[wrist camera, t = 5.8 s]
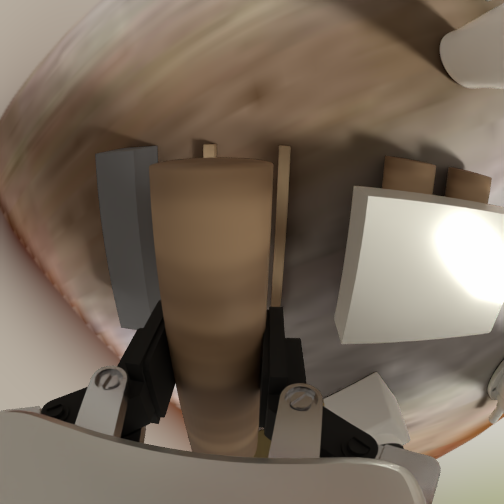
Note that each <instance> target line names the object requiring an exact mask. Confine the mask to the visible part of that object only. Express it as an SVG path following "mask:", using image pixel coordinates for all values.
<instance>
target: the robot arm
mask: <svg viewBox="0 0 504 504" xmlns="http://www.w3.org/2000/svg"><path fill="white" fill-rule="evenodd" d="M174 386H175V378H174V373H173V368H172V363H171V357H170V352H169V347H168V341H167V335H166V329H165V323H164V317H163V310H162V303H161V300H159V301H158V303H157V304H156V306H155V308H154V310H153V311H152V313H151V315H150V317H149V319H148V320H147V322H146V324H145V326H144V328H139V329H138V330H137V331H136V333H135V335H134V337H133V339H132V340H131V342H130V344H129V346H128V348H127V349H126V351H125V353H124V355H123V357H122V358H121V360H120V363H119V364H118V366H106V367H102V368H100V369H98V370H97V371H96V372H95V373H94V374H93V376H92V377H91V380H90V383H89V385H88V387H86V388H83V389H81V390H78V391H76V392H73V393H70V394H68V395H65V396H62V397H59V398H57V399H54V400H52V401H50V402H48V403H47V404H45V405H44V407H43V408H42V409H41V408H40V406H36V407H29V408H20V409H11V410H10V409H9V410H3V411H1V412H0V504H432V501H433V497H434V494H435V491H436V487H437V483H438V479H439V476H440V465H439V463H438V461H437V460H436V459H435V458H432V457H430V456H427V455H423V454H419V453H415V452H412V451H408V450H405V449H401V448H398V447H394V446H391V445H388V444H386V445H385V446H382V445H379V444H377V442H376V440H375V439H374V438H373V437H372V436H371V435H369V434H368V433H366V432H364V431H363V430H361V429H359V428H358V427H356V426H354V425H353V424H351V423H349V422H348V421H346V420H344V419H343V418H341V417H340V416H338V415H336V414H335V413H333V412H332V411H330V410H329V409H327V408H325V407H324V406H323V398H322V394H321V393H320V391H319V390H318V389H316V388H315V387H313V386H311V385H309V384H306V376H305V368H304V360H303V353H302V345H301V339H300V338H285V332H284V318H283V307H269V310H267V311H266V327H265V331H264V336H263V353H262V369H261V384H260V408H259V427H264V435H265V436H266V437H267V438H268V439H270V440H271V446H270V451H269V455H268V458H253V457H237V456H224V455H214V454H205V453H197V452H189V451H182V450H176V449H170V448H165V447H159V446H154V445H149V444H144V438H145V431H146V425H148V424H150V423H156V424H159V421H160V417H165V415H166V411H167V408H168V405H169V402H170V399H171V396H172V392H173V389H174ZM487 390H488V394H489V396H490V398H491V399H493V400H497V401H498V403H497V407H496V409H494V411H493V412H492V413H491V415H490V416H489V421H490V422H491V423H496V422H497V420H498V419H499V418H500V417H501V415H502V413H504V360H503V361H502V362H501V364H500V365H499V366H498V368H497V369H496V371H495V372H494V374H493V376H492V378H491V380H490V382H489V385H488V389H487Z"/></svg>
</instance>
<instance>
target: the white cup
mask: <svg viewBox="0 0 504 504" xmlns="http://www.w3.org/2000/svg"><path fill="white" fill-rule="evenodd" d="M440 57H441V61H442V63H443V66H444V68H445V69H446V71H447V73H448V74H449V75H450V76H451V78H452V79H453V80H454V81H456V82H457V83H458V84H460V85H462V86H464V87H466V88H472V89H474V88H496V89H504V3H503V4H501V5H499V6H497V7H495V8H494V9H492V10H490V11H488V12H486V13H485V14H483V15H481V16H479V17H478V18H476V19H474V20H472V21H470V22H469V23H467V24H465V25H463V26H462V27H460V28H458V29H456V30H454V31H451V32H449V33H447V34H446V35H445V36H444V37H443V38H442V40H441V43H440Z"/></svg>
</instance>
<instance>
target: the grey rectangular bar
mask: <svg viewBox="0 0 504 504" xmlns="http://www.w3.org/2000/svg"><path fill="white" fill-rule="evenodd" d="M95 156H96V172H97V185H98V196H99V206H100V215H101V223H102V230H103V237H104V244H105V250H106V257H107V262H108V268H109V273H110V279H111V284H112V289H113V294H114V298H115V303H116V307H117V312H118V316H119V320H120V324H121V328H128V329H135V330H138V329H139V328H144V326H145V324H146V322H147V320H148V319H149V317H150V315H151V313H152V311H153V310H154V308H155V306H156V304H157V303H158V301H159V300H161V296H160V289H159V281H158V273H157V265H156V256H155V246H154V236H153V224H152V212H151V197H150V179H149V166H150V165H152V164H155V163H158V153H157V146H145V147H131V148H122V149H117V150H112V151H107V152H102V153H97V154H95Z"/></svg>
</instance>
